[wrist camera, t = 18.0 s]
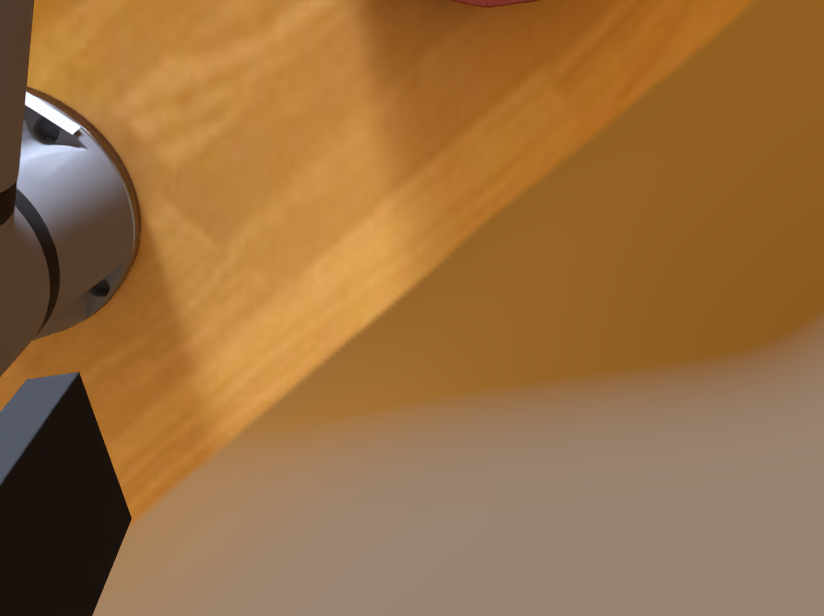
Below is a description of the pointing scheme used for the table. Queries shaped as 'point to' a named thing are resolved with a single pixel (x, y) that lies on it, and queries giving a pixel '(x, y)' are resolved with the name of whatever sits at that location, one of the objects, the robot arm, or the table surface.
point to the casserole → (492, 2)
